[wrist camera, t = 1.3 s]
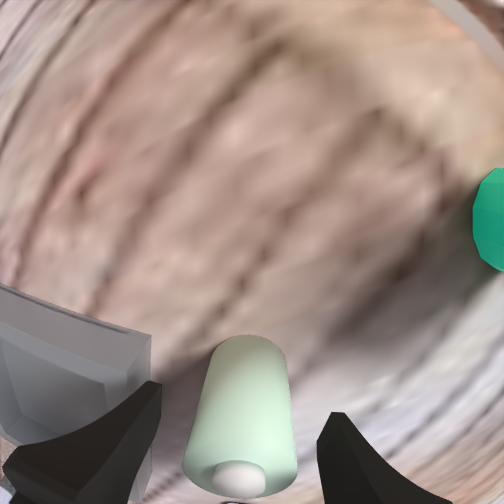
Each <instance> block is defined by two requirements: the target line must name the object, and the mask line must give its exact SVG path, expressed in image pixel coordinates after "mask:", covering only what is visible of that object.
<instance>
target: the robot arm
mask: <svg viewBox="0 0 504 504" xmlns="http://www.w3.org/2000/svg"><path fill="white" fill-rule="evenodd" d="M161 393H162V384H159V383H155V382H152V381H146V382H145V383H144V384H143V385H142V386H140V387H139V388H138V389H137V390H136V391H135V392H134V393H133V394H131V395H130V396H129V397H128V398H127V399H125V400H124V401H123V402H122V403H120V404H119V405H118V406H116V407H115V408H114V409H112V410H111V411H109V412H108V413H106V414H105V415H103V416H102V417H100V418H99V419H97V420H95V421H94V422H92V423H90V424H88V425H86V426H84V427H82V428H80V429H78V430H76V431H73V432H71V433H69V434H66V435H63V436H60V437H57V438H54V439H50V440H47V441H43V442H39V443H33V444H27V445H20V446H18V447H17V448H16V449H15V450H14V451H13V453H12V454H11V455H10V456H9V458H8V459H7V461H6V462H5V463H4V465H3V466H2V468H3V472H4V474H5V476H6V477H7V478H8V480H9V481H10V483H11V484H12V485H13V487H14V488H15V489H16V493H15V494H14V496H13V495H12V494H11V493H10V492H9V491H8V490H6V489H5V488H4V487H2V486H1V485H0V504H127V503H128V499H129V496H130V493H131V489H132V486H133V483H134V480H135V478H136V475H137V473H138V471H139V468H140V466H141V464H142V462H143V460H144V458H145V456H146V454H147V451H148V449H149V447H150V445H151V443H152V441H153V439H154V436H155V434H156V431H157V427H158V424H159V421H160V418H161ZM317 462H318V468H319V474H320V479H321V484H322V490H323V495H324V501H325V504H453V503H452V502H451V501H449V500H446V499H444V498H441V497H439V496H436V495H434V494H432V493H430V492H428V491H426V490H424V489H422V488H421V487H419V486H417V485H416V484H414V483H413V482H411V481H410V480H408V479H407V478H405V477H404V476H403V475H401V474H400V473H399V472H397V471H396V470H395V469H394V468H393V467H392V466H390V465H389V464H388V463H387V462H386V461H385V460H384V459H383V458H382V457H381V456H380V455H379V454H378V453H377V452H376V451H375V450H374V449H373V447H372V446H371V445H370V444H369V443H368V442H367V440H366V439H365V438H364V437H363V436H362V434H361V433H360V432H359V431H358V429H357V428H356V427H355V425H354V424H353V423H352V422H351V420H350V419H349V418H348V416H347V415H346V414H345V413H342V412H331V414H330V416H329V418H328V420H327V422H326V424H325V426H324V428H323V430H322V432H321V434H320V436H319V438H318V440H317ZM227 504H237V503H227Z"/></svg>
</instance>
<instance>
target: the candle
mask: <svg viewBox="0 0 504 504" xmlns="http://www.w3.org/2000/svg"><path fill="white" fill-rule="evenodd" d="M472 236H473V238H474V241H475V244H476V246H477V249H478V252H479V255H480V258H481V259H483V260H484V261H485V262H487V263H488V264H490V265H491V266H492V267H494V268H495V269H497V270H500V271H502V272H504V168H495V169H494V170H493V171H492V172H491V173H490V174H489V175H488V176H487V177H486V178H485V179H484V180H483V181H482V182H481V184H480V187H479V190H478V193H477V196H476V199H475V202H474V205H473V234H472Z"/></svg>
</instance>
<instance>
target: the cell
mask: <svg viewBox="0 0 504 504" xmlns="http://www.w3.org/2000/svg"><path fill="white" fill-rule="evenodd" d="M182 467H183V470H184V472H185V474H186V476H187V477H188V478H189V479H190V480H191V481H192V482H193V483H194V484H196V485H197V486H199V487H200V488H202V489H204V490H206V491H209V492H211V493H214V494H217V495H221V496H225V497H231V498H243V499H247V498H260V497H265V496H269V495H272V494H275V493H278V492H280V491H282V490H284V489H286V488H287V487H288V486H290V485H291V484H292V483H293V481H294V480H295V478H296V476H297V472H298V471H297V460H296V450H295V439H294V430H293V420H292V410H291V401H290V392H289V383H288V374H287V365H286V359H285V356H284V354H283V353H282V351H281V350H280V349H279V347H278V346H276V345H275V344H274V343H273V342H271V341H269V340H267V339H265V338H262V337H259V336H254V335H240V336H235V337H232V338H229V339H227V340H225V341H224V342H222V343H221V344H220V345H219V346H218V347H217V348H216V349H215V351H214V352H213V354H212V357H211V360H210V364H209V367H208V371H207V375H206V378H205V382H204V385H203V389H202V393H201V396H200V400H199V403H198V407H197V411H196V414H195V418H194V421H193V425H192V429H191V432H190V436H189V440H188V443H187V447H186V451H185V454H184V458H183V462H182Z"/></svg>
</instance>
